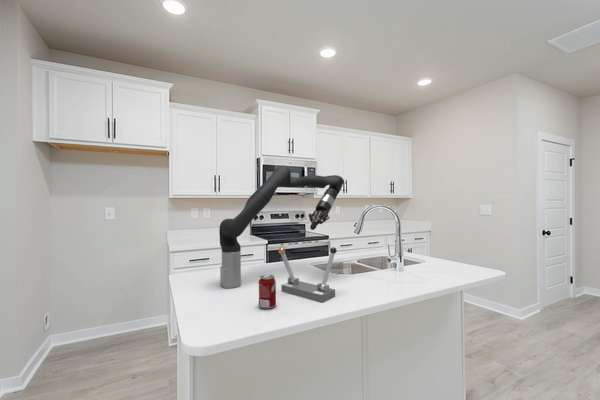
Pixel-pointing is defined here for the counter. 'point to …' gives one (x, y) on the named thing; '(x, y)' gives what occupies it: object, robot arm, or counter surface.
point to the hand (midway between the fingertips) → (311, 228)
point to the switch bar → (308, 290)
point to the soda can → (267, 292)
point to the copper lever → (286, 264)
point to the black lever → (328, 268)
